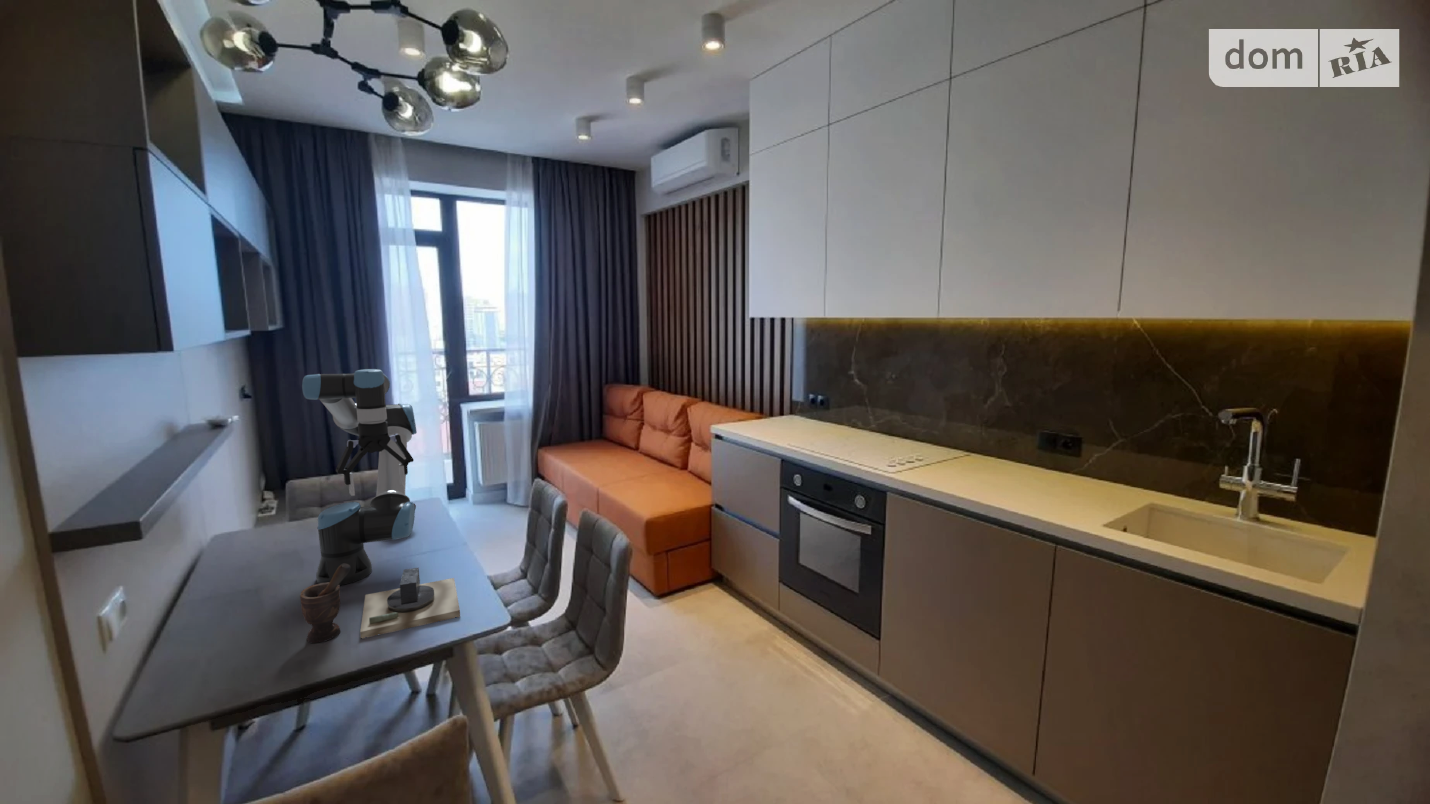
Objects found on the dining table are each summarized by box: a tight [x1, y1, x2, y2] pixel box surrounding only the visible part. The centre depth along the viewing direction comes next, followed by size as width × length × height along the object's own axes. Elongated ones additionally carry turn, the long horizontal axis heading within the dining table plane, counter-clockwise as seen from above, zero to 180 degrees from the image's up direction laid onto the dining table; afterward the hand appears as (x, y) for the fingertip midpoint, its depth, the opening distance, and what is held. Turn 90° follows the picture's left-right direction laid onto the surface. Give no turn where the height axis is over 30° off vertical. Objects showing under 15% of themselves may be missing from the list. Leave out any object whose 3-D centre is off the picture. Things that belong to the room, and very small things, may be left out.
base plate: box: [359, 577, 461, 639], centre depth 163 cm, size 24×22×4 cm
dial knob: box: [387, 567, 434, 613], centre depth 163 cm, size 14×12×8 cm
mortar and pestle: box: [299, 563, 351, 644], centre depth 148 cm, size 12×9×20 cm
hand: (378, 489), depth 170 cm, fingers open, 13 cm apart
